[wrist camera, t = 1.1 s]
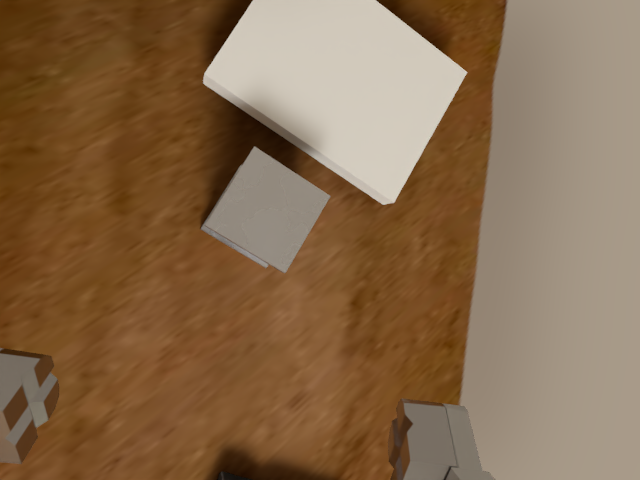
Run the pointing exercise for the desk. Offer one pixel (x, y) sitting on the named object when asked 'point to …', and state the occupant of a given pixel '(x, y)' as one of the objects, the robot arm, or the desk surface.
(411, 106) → the stand
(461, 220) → the desk surface
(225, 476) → the disk drive
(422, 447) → the robot arm
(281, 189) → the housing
